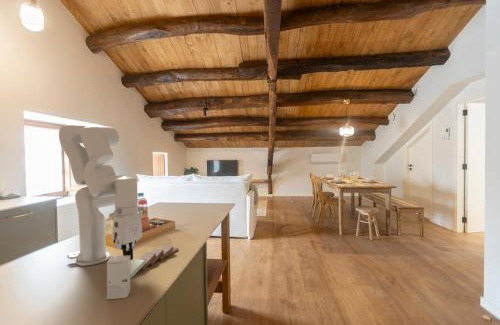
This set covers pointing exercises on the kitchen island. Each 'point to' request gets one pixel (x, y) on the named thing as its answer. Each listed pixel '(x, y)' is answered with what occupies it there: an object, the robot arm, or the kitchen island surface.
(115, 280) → the skincare box
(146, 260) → the tile
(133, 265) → the sage tile
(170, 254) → the tile
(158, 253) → the tile
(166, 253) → the tile
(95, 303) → the kitchen island surface
